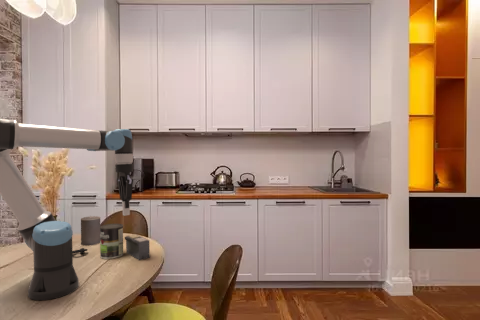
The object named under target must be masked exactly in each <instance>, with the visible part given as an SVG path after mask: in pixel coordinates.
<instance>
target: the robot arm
mask: <svg viewBox="0 0 480 320" xmlns="http://www.w3.org/2000/svg"><path fill="white" fill-rule="evenodd" d="M132 134H133V133H132V130H131V129H125V128H120V129H119V128H117V129H114V130H98V129H89V128H88V129H87V128H78V127H76V128H75V127H74V128H73V127H62V126H54V125H53V126H51V125H42V124H41V125H39V124H31V123H30V124H29V123H28V124H27V123H19V122H17V120H15V119H7V118H0V196H1V197H2V199H3V201H4V202H5V203H6V205H7V206H8V208H9V210H10V211H11V213H12V214H13V216H14V217H15V218H16V220H17V221H18V226H17V231H18V232H19V233H20V235H21V237H22V239H24V243H25V244H26V246H27V247H28V248H29V249H30V250H31V251H32V252H33V275H32V277H31V280H30V282H29V283H30V284H29V286H28V290H27V291H28V292H27V295H28V298H29V299H31V300H34V301H46V300H53V299H57V298H61V297H64V296H66V295H69V294H71V293H73V292H74V291H76V290H78V288H79V287H80V284H79V283H80V280H79V277H78V275H77V271H76V269H75V268H74V264H73V263H74V262H73V259H74V258H73V255H74V254H73V252H72V251H73V228H72V224H70V222H67V221H61V220H56V218H55V217H54V215H53V213H52V212H51V211H48V210H45V209H44V207H43V206H42V204H41V203H40V202H39V200H38V198H37V196H36V195H35V194H34V192H33V190H32V189H31V187H30V186H29V184H28V182H27V181H26V179H25V176H23V174H22V173H21V171H20V169H19V168H18V166H17V164H16V163H15V161H14V160H13V158H12V156H11V155H10V154H11V150H15V149H17V148H19V147H21V148H22V147H25V148H27V147H28V148H45V149H50V148H51V149H52V148H53V149H75V150H76V149H77V150H87V151H88V152H89V151H90V152H104V151H106V152H107V151H114V163H115V172H116V173H118V174H119V175H118V177H117V178H116V182H117V187H118V192H119V193H118V194H119V199H120V200H121V206H122V216H126V217H127V216H130V215H131V210H130V209H131V207H130V205H131V204H130V201H131V200H132V199H133V183H134V179H133V178H131V173H133V172H134V164H133V162H134V161H133V160H134V156H133V135H132Z"/></svg>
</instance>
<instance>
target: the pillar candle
mask: <svg viewBox="0 0 480 320" xmlns="http://www.w3.org/2000/svg"><path fill="white" fill-rule="evenodd" d="M100 226H101V217H100V216H98V215H96V216H95V215H89V216H85V217H81V218H80V244H81V245H82V246H93V245H97V244H100Z"/></svg>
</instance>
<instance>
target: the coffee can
mask: <svg viewBox="0 0 480 320" xmlns="http://www.w3.org/2000/svg"><path fill="white" fill-rule="evenodd" d="M99 246H100V247H99V252H100V253H99V254H100V255H99V257H100V259H104V260H109V259H110V260H111V259H118V258H120V257H122V256H124V224H122V223H107V224H103V225H100V243H99Z"/></svg>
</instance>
